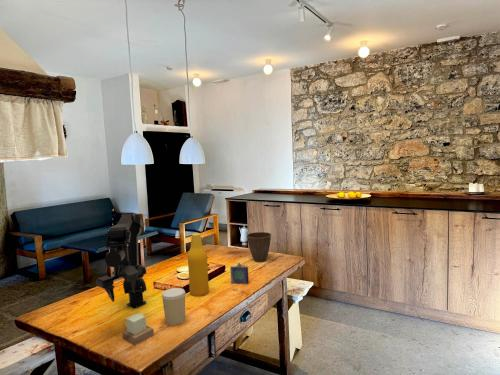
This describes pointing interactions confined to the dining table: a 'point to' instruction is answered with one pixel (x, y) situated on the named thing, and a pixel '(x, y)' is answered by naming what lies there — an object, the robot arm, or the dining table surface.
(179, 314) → the coffee cup
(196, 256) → the beer bottle
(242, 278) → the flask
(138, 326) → the cube
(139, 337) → the base
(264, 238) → the plant pot
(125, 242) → the robot arm
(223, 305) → the dining table surface
